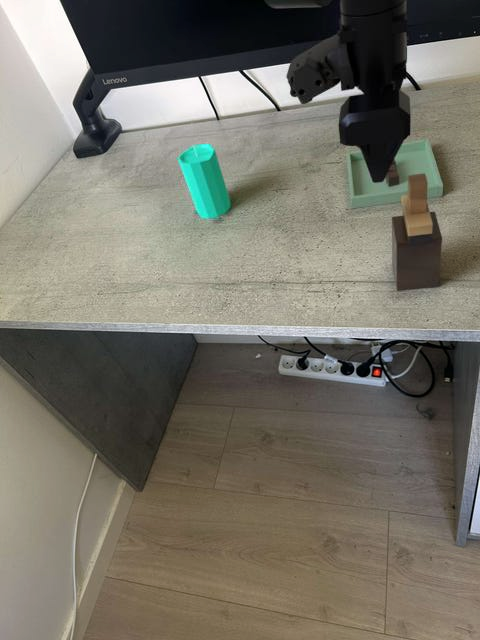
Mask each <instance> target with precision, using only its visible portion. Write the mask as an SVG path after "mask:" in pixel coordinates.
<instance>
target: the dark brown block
mask: <svg viewBox="0 0 480 640" xmlns="http://www.w3.org/2000/svg"><path fill="white" fill-rule="evenodd" d="M430 215H431V218H432V222H433V231H432V234H431V241H429V242H421V243H412V244H409V243H408V238H407V233H406V228H405V223H404V218H403V215H397V216H396V215H395V216H391V253H392V254H391V255H392V256H391V265H392V266H391V267H392V273H393V277H394V283H395V289H396V291H397V292H399V291H400V292H401V291H409V290H410V291H411V290H419V289H420V290H421V289H431V288H438V287H439V283H440V269H441V257H442V248H443V247H442V246H443V236H442V231H441V228H440V225H439V222H438V219H437V213H436V211H430Z"/></svg>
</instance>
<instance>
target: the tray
mask: <svg viewBox="0 0 480 640" xmlns="http://www.w3.org/2000/svg"><path fill="white" fill-rule="evenodd" d="M345 157H346V166H347V178H348V188H349V189H348V190H349V199H350V209H351V210H353V209H360V208H367V207H374V206H375V207H376V206H383V205H388V204H396V203H402V195H408V176H409V175H416V174H422V173H425V175H426V178H427V182H428V186H427V199H432V198H440V197H443V195H444V182H443V180H442V176H441V174H440V170H439V168H438V165H437V161H436V158H435V155H434V152H433V148H432V145H431V141H430V139H429V138H426V139H421V140H420V139H419V140H414V141H408V142H403V143H402V145H401V147H400V149H399V151H398V153H397V155H396V157H395V158H394V159H395V161H396V164H397V173H398V175H399V185H395V186H391V187H389V186H388V184H387V182H386V179H384V181H383V182H379V183H373V182H372V179H371V176H370V173H369V171H368V168H367V165H366V162H365V160H364V157H363V154H362V152H361V150H360V149H359V150H353V151H347V152H345Z"/></svg>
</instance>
